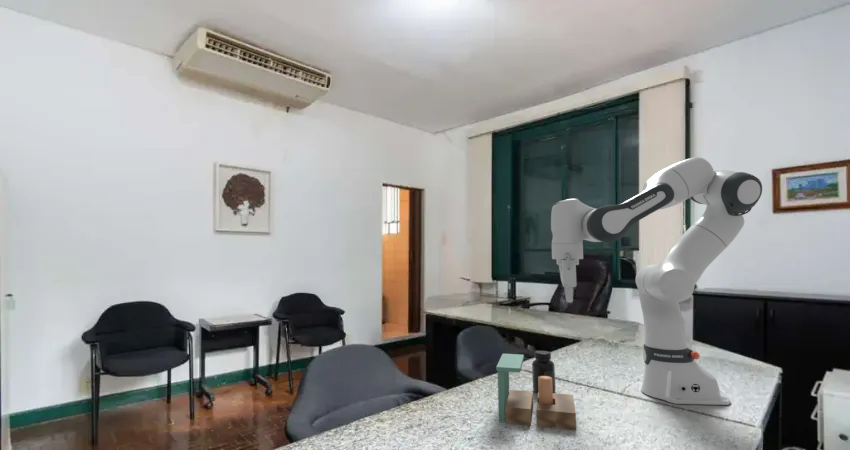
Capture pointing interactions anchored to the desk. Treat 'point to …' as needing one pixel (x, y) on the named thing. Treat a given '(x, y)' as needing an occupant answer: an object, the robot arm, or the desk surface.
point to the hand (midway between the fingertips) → (568, 300)
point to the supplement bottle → (542, 368)
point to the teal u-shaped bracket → (506, 378)
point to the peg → (545, 390)
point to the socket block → (541, 410)
